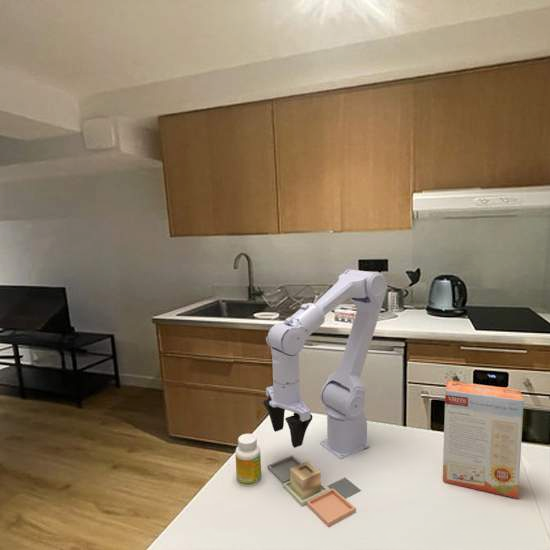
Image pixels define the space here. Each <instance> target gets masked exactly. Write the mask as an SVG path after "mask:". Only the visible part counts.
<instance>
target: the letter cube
mask: <svg viewBox="0 0 550 550" xmlns="http://www.w3.org/2000/svg"><path fill="white" fill-rule="evenodd" d="M301 463H302V464H300V465H297V466H295V467H293V468H290V484H291V489H292V490H293V491H294V492H295V493H296V494H297V495H298V496H299V497H300V498H301V499H302V500H305V499H307V498H309V497H311V496H313V495H315V494H317V493H319V492H321V483H322V479H321V478H322V477H321V475H322V473H321V471H320V470H319V469H318V468H317V467H315V466H314V465H313V464H311V462H309V461H308V460H306V461H305V462H301Z"/></svg>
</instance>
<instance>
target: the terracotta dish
mask: <svg viewBox="0 0 550 550" xmlns="http://www.w3.org/2000/svg"><path fill="white" fill-rule="evenodd" d="M305 506H307V508H308V509H309V510H311V512H313V514H315V516H317V518H318V519H319V520H320V521H322V523H323V524H325V526H327V527H328V528H329V527H332V526H333V525H335V524H336V523H339V522H340V521H342V520H344V519H346V518H347V517H349V516H351V515H353V514H355V513H356V512H357V509H356V507H355V506H354V505H353V504H352V503H351V502H350V501H348V500H347V498H346V499H345V498H344V497H343V496H341V495H340V494H339V493H338V492H337V491H336V490H334V489H333V488H332V489H330V488H329V490H328V491H326V492H324V493H322V494H320V495H318V496H316V497H314V498H312V499H310V500H308V501H306V505H305Z"/></svg>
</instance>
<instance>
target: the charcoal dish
mask: <svg viewBox="0 0 550 550" xmlns="http://www.w3.org/2000/svg"><path fill="white" fill-rule="evenodd" d="M302 463H303V462H301V461H299V460H298V459H297V458H296V457H295V456H294V455H290V456H287V457H284V458H282V459H280V460H279V459H278V460H277V461H274V462H272V463H270V464H268V465H267V466H266V467H267V470H268V471H269V472H270V473H271V474H272V475H273V476H274V477H275V478H276V479H277V480H278V481H279V483H281V484H282V485H283V483H286V482H288V481H290V468H293V467H295V466H297V465H300V464H302Z"/></svg>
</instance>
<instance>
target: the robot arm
mask: <svg viewBox="0 0 550 550" xmlns="http://www.w3.org/2000/svg"><path fill="white" fill-rule="evenodd" d="M387 290H388V284H387V280H386V278H385V276H384V275H383V273H381V272H379V271H375V272H373V271H365V270H358V269H354V268H349V269H346V270H345V271H344V272H343V273H341V274H339V276H338V279H337V282H336V283H334V284H333V286H332V287H330V288H329V289H328V290H327V291H326V292H325V293H324V294H323V295H322V296H321V297H320V298H319V299H318V300H317V301H316V302H315V303H312V302H308V303H303V304H301V305H300V307H299V309H298V310H297V311H296V312H294V313H293V314H292V315H291V316H289V317H287V318H286V319H285V321H283V322H280V323H279V322H278V323H276V324H274V325H273V326H271V327H270V328H269V331H268V333H267V336H266V337H265V341H266V344H267V346H268V347H269V348H270V354H271V357H272V358H271V360H272V385H271V386H268V387H266V388H265V395H266V397H267V399H264V400H263V401H262V402H263V403H262V404H263V406H264V407H265V409H266V411H267V412H268V416H269V418H270V422H271V426H272V428H273V431H274V433H276V432H278V431H279V432H280V431H282V430H283V429H284V426H285V422H286V423H287V425H288V429H289V433H290V441H291V446H292V447H293V448H294V449H296V448H299V447H301V446H302V445H303V444H304V439H305V435H306V432H307V430H308V427H309V425H310V424H311V421H312V420H313V414H311V410H310V409H309V408H308V407H307V406H306V404H305V402H304V401H303V399H302V397H301V396H300V395H301V394H300V391H301V390H300V389H301V388H300V385H301V384H300V352H301V351H303V348H304V346H305V343H306V341H307V340H308V338H309V337H310V336H311V335H312V334H313V333H314V332H316V330H318V329H319V328H320V327H321V326H322V325H323V324H324V323H325V321H326V320H325V319H326V315H328V313H330V312H331V311H333V310H334V309H336V308H337V307H338V306H339V305H341V304H342V303H344V302H345V301H346V300H348V299H349V300H350V301H351V302H352V304H354V307H355V309H356V314H355V315H354V320H353V323H352V326H351V329H350V332H349V336H348V338H347V342H346V345H345V348H344V351H343V354H342V357H341V360H340V364H339V367H338V370H336V371H334V372H332V373H330V374H328V377H327V380H326V382H325V384H324V385H323V387H321V390H320V395H319V396H320V398H319V399H320V401H321V403H322V404H323V405H324V406H325V407H324V409H325V411H326V413H327V414H326V415H327V416H326V424H327V425H326V428H327V432H326V434H327V435H326V436H327V437H326V439H324V440H321V441H320V442H319V444H320V445H321V446H322V447H323V448H325V449H326V450H327V451H329V452H330V453H332V454H333V455H334V456H335V457H337V458H338V459H339V460H342V459H344V458H347V457H349V456H351V455H353V454H356V453H359V452H360V451H363V450H364V449H367V448H370V444H369V443H368V438H367V437H368V422H367V417H366V414H365V413H364V411H363V410H364V407H365V396H366V392H367V389H366V387H365V385H364V383H363V382H362V380H361V375H362V371H363V368H364V366H365V362H366V359H367V356H368V353H369V349H370V346H371V343H372V340H373V337H374V333H375V330H376V327H377V324H378V321H379V317H380V314H381V311H382V306H383V304H384V300H385V298H386V294H387ZM285 411H288V412H292V413H293V415H290V416H287V417H285Z"/></svg>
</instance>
